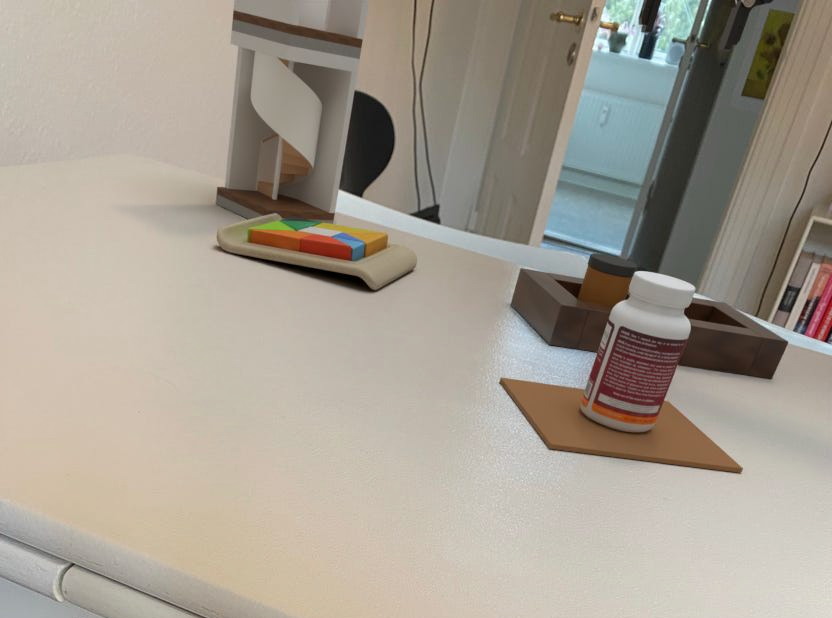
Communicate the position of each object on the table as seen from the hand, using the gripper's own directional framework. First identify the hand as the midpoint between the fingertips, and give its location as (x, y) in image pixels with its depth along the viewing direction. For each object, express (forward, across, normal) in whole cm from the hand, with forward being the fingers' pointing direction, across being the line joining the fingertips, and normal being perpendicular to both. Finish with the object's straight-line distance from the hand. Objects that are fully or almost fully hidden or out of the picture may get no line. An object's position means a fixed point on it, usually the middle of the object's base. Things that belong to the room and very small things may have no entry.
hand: (684, 41), depth 95 cm
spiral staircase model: (+27, +41, -14) cm, 52 cm away
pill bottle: (+28, +7, +42) cm, 51 cm away
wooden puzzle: (+28, +34, +5) cm, 44 cm away
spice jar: (+28, +3, +13) cm, 31 cm away
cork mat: (+28, +6, +42) cm, 51 cm away
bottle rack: (+28, -2, +12) cm, 30 cm away
